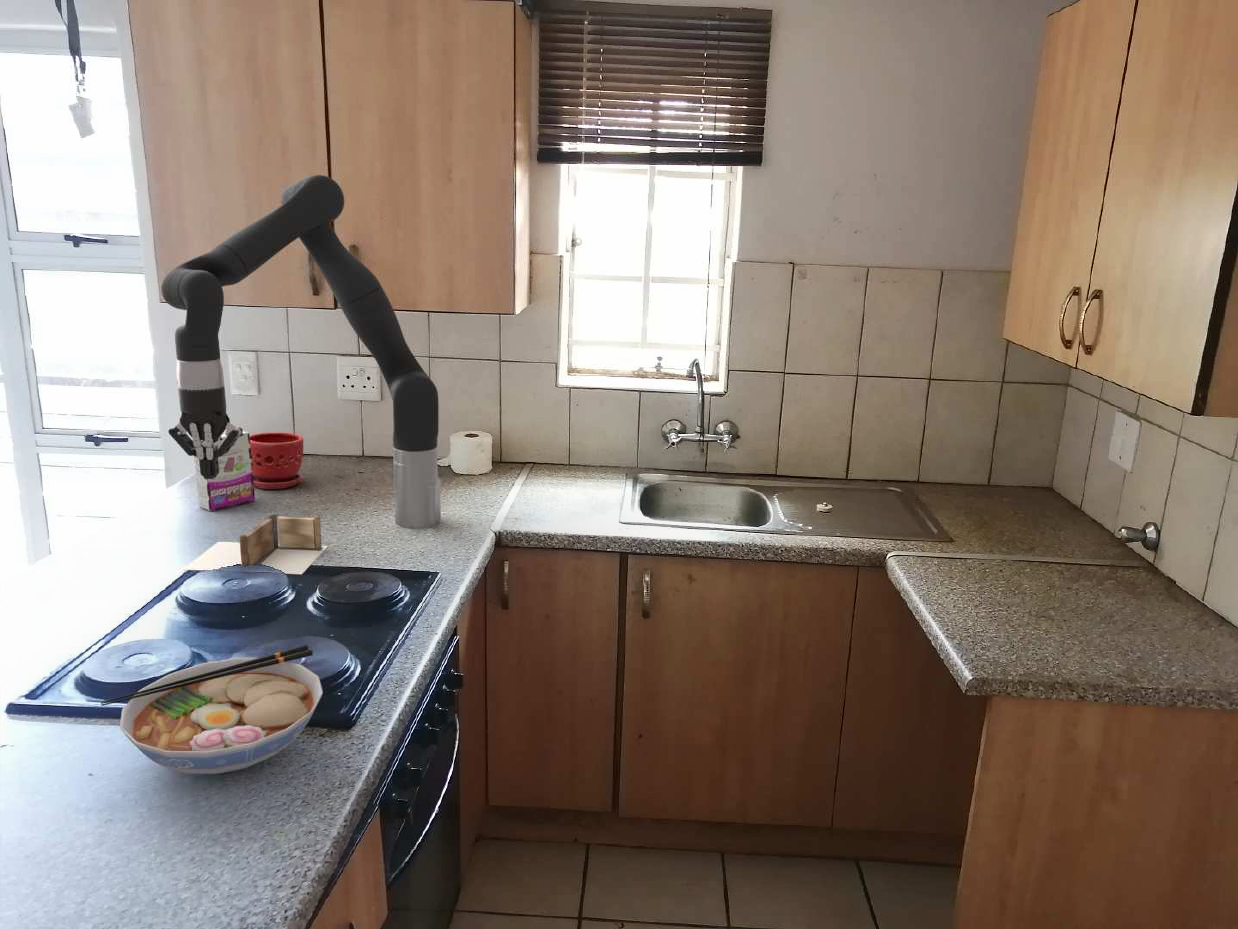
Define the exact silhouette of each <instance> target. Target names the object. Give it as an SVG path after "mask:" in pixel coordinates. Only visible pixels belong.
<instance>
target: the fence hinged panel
mask: <svg viewBox="0 0 1238 929" xmlns="http://www.w3.org/2000/svg"><path fill="white" fill-rule="evenodd" d="M238 538H239V543H240V552H241V565H242V567H246V566H249V565H253V564H254V563H256V562H257V561H258V560H260V559H261V558H262V557H263V556H265V555H266V554H267V553H269V552H270V551H271V550H272V549H274V541H273V526H272V519H268V518H266V519H265V520H264V521H262V522H261V523H259V524H258V525H256V526H255V527H253V528H252V529H251V530H249V531H248V532H246V533H245V534H241V535H238Z"/></svg>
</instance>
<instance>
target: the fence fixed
mask: <svg viewBox="0 0 1238 929" xmlns="http://www.w3.org/2000/svg"><path fill="white" fill-rule="evenodd" d="M267 519H272V526H273V541H274V548H278V547H287V548H313V549H316V550H320V549H322V546H323V545H322V526H321V516H320V515H314V516H313V517H295V516H277V513H269V514H267ZM278 544H279V546H278Z"/></svg>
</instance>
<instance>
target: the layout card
mask: <svg viewBox="0 0 1238 929" xmlns="http://www.w3.org/2000/svg"><path fill="white" fill-rule="evenodd" d="M278 546H279V543H278ZM328 546H329V545H322V549H320V550H316V549H313V548H287V547H278V548H274V549H272V550H271V551H270V552H269V553H267V554H266V555H265V556H263V557H262V558H261V559H260V560H258V561H257V562H256V563H254V564H262V565H266V566H270V567H273V568H275V569H278V570H281V571H282V572H284V573H285V574H286V575H303V574H304V573H305V571H306V570H307V569H308V568H309V567H310V566H311V565H312V564H313V563H314V562H315V561H316V560H317V559H318V557H319V556H320V555H321V554H322V553H323V552H324V551H325V550H326V549H327V548H328ZM236 564H241V552H240V542H239V541H238V542H237V541H234V542H233V541H232V542H231V541H217V542H216V543H215V544H213V545H212V546H210V548H208V549H207V550H206V551H204V552H203V553H202V554H200V555H199V556H198V557H197V558H195V559H194V560H193V561H191V563H189V564H188V565H186V566H185V567H183V569H182V571H203V570H213V569H219V568H221V567H227V566H233V565H236ZM285 574H284V575H285Z"/></svg>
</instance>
